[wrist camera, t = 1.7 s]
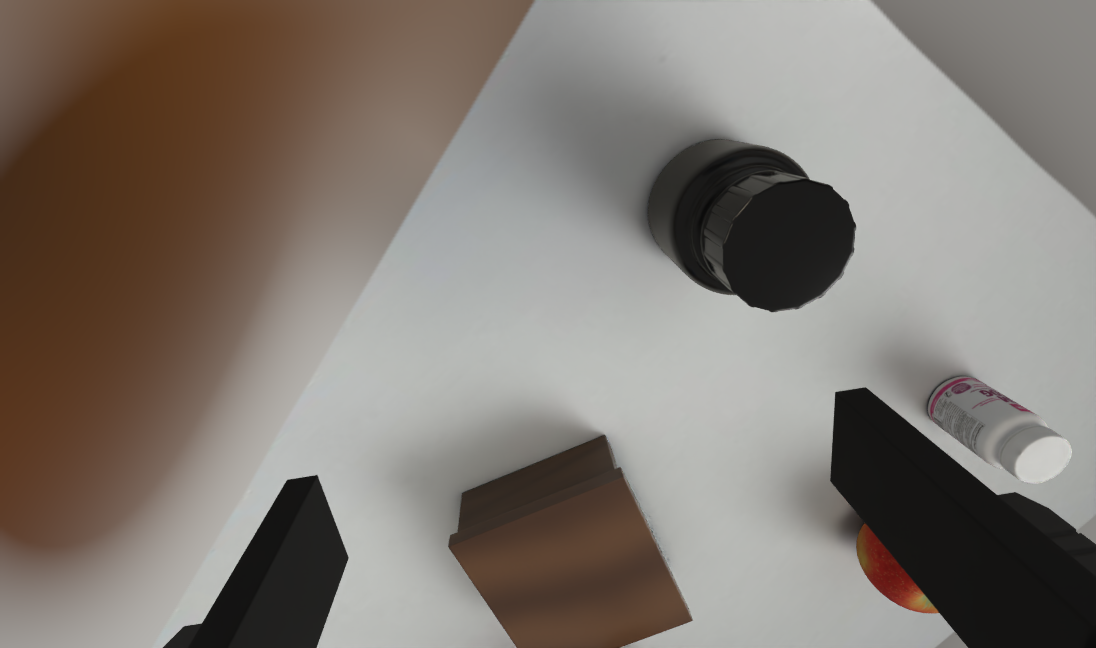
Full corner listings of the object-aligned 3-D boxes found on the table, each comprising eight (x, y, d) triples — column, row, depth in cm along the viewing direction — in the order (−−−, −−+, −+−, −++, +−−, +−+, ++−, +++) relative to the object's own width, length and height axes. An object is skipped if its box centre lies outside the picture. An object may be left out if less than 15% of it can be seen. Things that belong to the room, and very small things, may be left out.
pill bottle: (987, 370, 45) (1087, 427, 37) (976, 421, 47) (1069, 484, 39) (930, 378, 45) (1017, 436, 37) (921, 427, 47) (1003, 493, 39)
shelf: (455, 493, 47) (447, 546, 41) (609, 430, 45) (623, 476, 40) (534, 616, 52) (537, 678, 47) (673, 564, 51) (693, 621, 45)
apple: (944, 506, 50) (1042, 597, 41) (881, 566, 53) (960, 665, 43) (882, 470, 48) (970, 557, 39) (820, 533, 51) (889, 630, 41)
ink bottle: (697, 295, 41) (766, 367, 30) (615, 213, 38) (658, 260, 27) (801, 197, 39) (918, 237, 28) (722, 104, 36) (815, 106, 25)
